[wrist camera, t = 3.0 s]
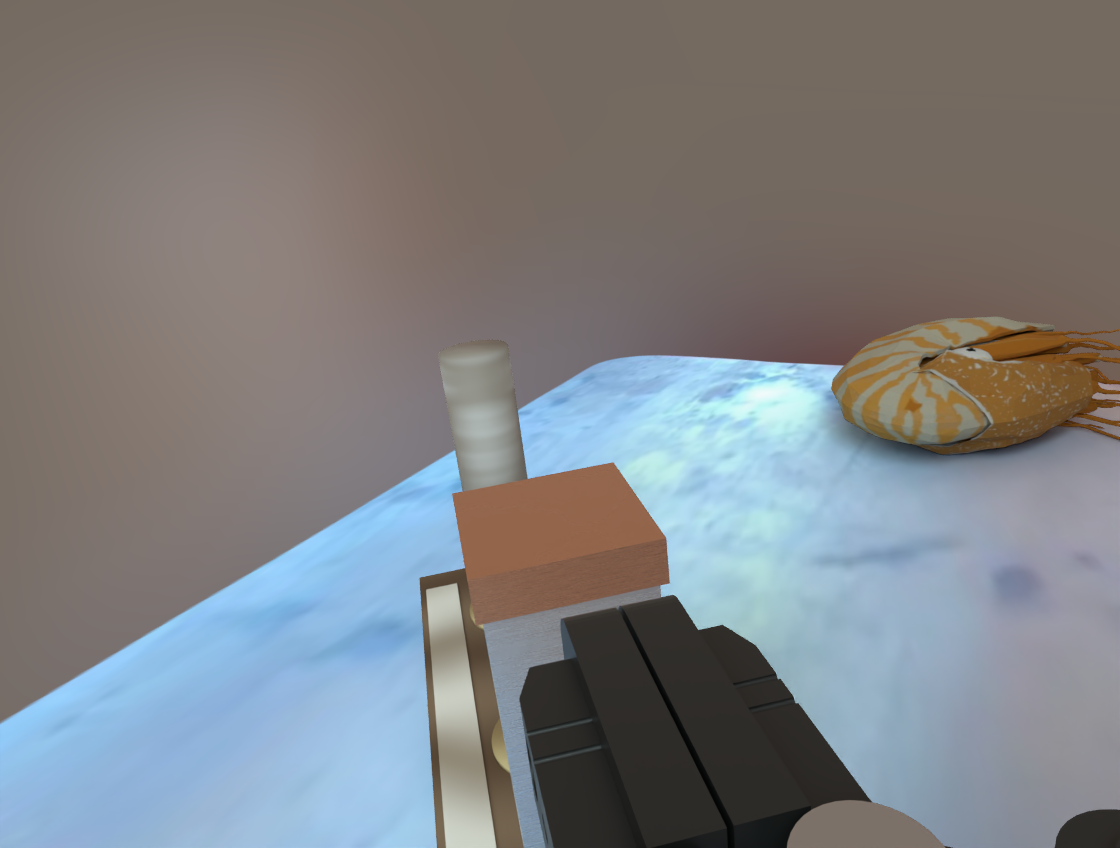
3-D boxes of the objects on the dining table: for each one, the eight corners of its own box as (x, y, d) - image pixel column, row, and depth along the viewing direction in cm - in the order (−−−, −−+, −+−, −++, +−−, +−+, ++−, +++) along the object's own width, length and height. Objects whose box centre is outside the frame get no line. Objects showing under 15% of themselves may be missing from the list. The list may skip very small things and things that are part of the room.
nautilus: (1173, 415, 54) (1227, 529, 42) (846, 384, 63) (813, 471, 51) (1204, 304, 50) (1273, 394, 38) (853, 289, 59) (821, 358, 47)
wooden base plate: (424, 601, 42) (369, 342, 37) (586, 567, 43) (555, 312, 38) (473, 1274, 17) (322, 761, 12) (852, 1143, 18) (868, 631, 13)
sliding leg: (529, 907, 22) (452, 493, 18) (655, 873, 23) (613, 462, 18) (555, 1048, 19) (467, 579, 14) (702, 1003, 19) (666, 538, 15)
